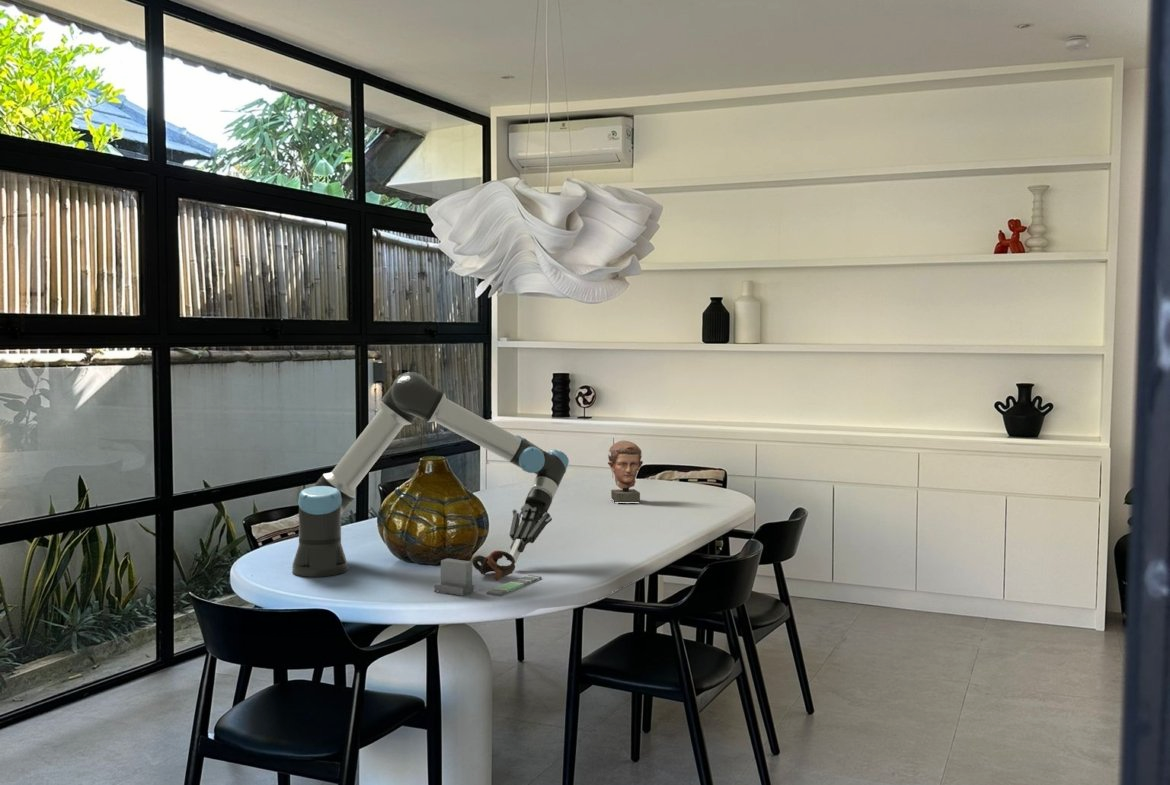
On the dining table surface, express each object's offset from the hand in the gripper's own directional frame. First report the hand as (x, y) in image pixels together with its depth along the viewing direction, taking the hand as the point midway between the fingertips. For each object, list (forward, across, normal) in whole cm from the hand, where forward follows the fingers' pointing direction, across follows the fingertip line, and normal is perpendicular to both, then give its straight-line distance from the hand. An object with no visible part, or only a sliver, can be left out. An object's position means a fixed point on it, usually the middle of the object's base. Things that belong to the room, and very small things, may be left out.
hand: (511, 560), depth 295 cm
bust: (-87, +23, -92) cm, 129 cm away
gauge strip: (+13, -10, +9) cm, 19 cm away
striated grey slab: (+22, 0, +18) cm, 28 cm away
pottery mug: (+9, 0, +4) cm, 9 cm away
